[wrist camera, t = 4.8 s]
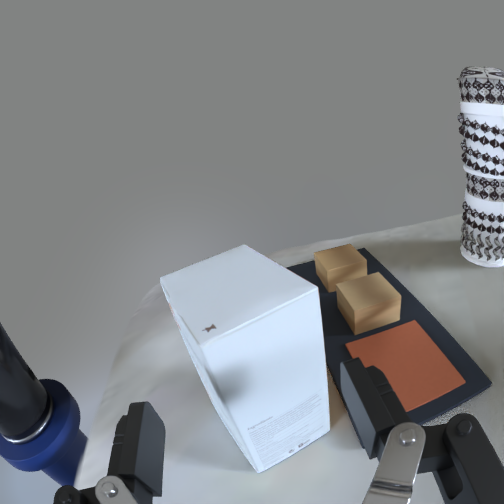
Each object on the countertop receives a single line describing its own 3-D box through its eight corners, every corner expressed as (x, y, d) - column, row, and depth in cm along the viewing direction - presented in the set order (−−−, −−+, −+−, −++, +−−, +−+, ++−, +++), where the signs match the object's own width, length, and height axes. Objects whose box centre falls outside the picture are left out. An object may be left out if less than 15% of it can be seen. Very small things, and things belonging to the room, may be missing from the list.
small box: (332, 431, 19) (322, 285, 14) (258, 475, 17) (196, 348, 12) (276, 373, 26) (244, 240, 21) (212, 406, 24) (155, 276, 19)
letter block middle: (354, 335, 28) (354, 310, 26) (337, 307, 32) (335, 283, 31) (399, 320, 28) (401, 295, 27) (378, 295, 32) (378, 271, 31)
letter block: (328, 293, 35) (326, 270, 34) (316, 273, 40) (313, 252, 38) (367, 282, 35) (366, 259, 34) (351, 264, 40) (350, 243, 38)
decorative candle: (497, 236, 37) (493, 73, 27) (523, 265, 29) (528, 71, 19) (449, 240, 40) (440, 68, 29) (471, 272, 32) (467, 62, 21)
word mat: (362, 449, 17) (363, 445, 17) (285, 271, 43) (284, 266, 43) (490, 386, 18) (492, 381, 17) (364, 250, 43) (364, 246, 43)
